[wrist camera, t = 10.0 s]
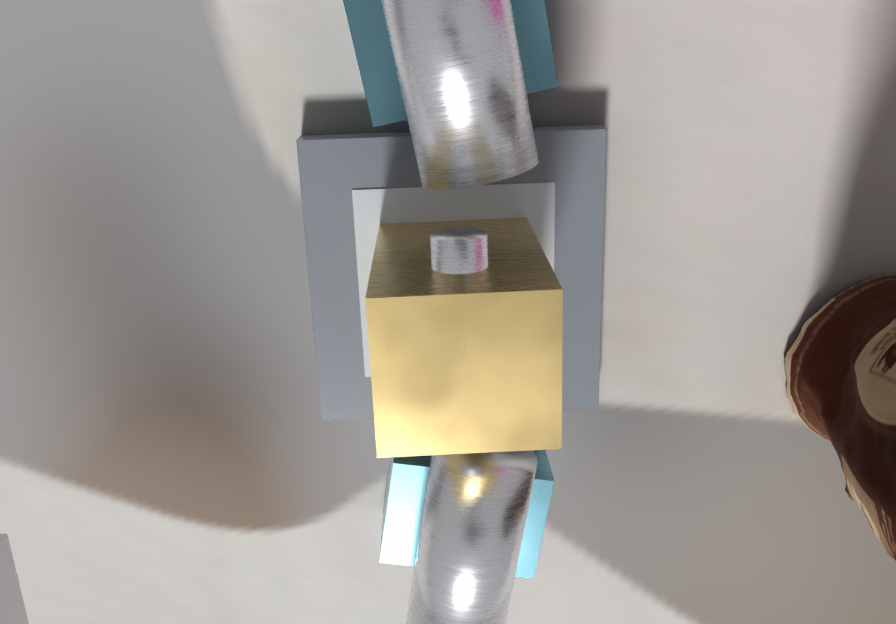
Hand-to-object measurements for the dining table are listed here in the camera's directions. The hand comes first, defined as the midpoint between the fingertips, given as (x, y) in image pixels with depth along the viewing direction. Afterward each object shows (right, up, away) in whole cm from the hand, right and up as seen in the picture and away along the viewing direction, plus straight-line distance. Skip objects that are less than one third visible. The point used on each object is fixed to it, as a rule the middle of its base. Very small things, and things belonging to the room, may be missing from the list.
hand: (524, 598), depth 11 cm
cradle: (-1, +5, +16) cm, 17 cm away
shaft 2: (-1, -2, +19) cm, 19 cm away
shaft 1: (-1, +12, +14) cm, 18 cm away
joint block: (-1, +5, +15) cm, 16 cm away
